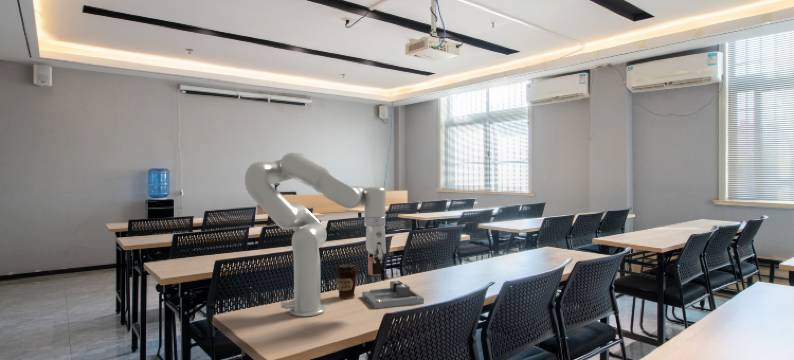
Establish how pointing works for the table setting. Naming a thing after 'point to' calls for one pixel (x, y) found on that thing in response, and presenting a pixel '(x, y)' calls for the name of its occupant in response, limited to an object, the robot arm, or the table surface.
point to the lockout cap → (371, 265)
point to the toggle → (402, 291)
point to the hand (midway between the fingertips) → (374, 272)
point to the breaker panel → (390, 297)
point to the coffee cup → (346, 280)
